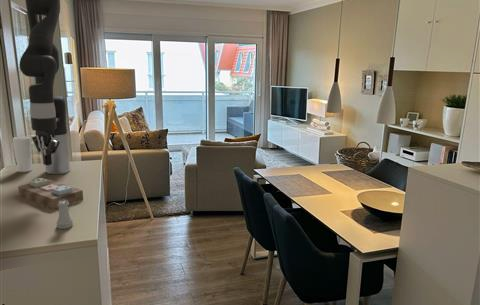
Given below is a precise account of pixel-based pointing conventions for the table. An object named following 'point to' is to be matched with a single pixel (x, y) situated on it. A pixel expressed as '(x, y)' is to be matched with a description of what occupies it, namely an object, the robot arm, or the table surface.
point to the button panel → (49, 194)
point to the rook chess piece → (64, 215)
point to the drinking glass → (23, 153)
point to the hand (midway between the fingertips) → (47, 164)
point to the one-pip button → (48, 187)
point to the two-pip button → (61, 190)
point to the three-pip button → (38, 182)
